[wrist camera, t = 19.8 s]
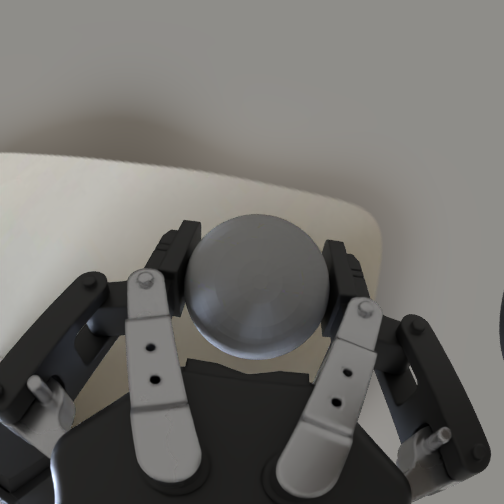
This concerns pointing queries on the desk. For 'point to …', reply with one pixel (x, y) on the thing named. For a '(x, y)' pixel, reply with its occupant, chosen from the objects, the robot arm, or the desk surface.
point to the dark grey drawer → (18, 460)
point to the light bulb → (256, 286)
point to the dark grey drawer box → (32, 491)
